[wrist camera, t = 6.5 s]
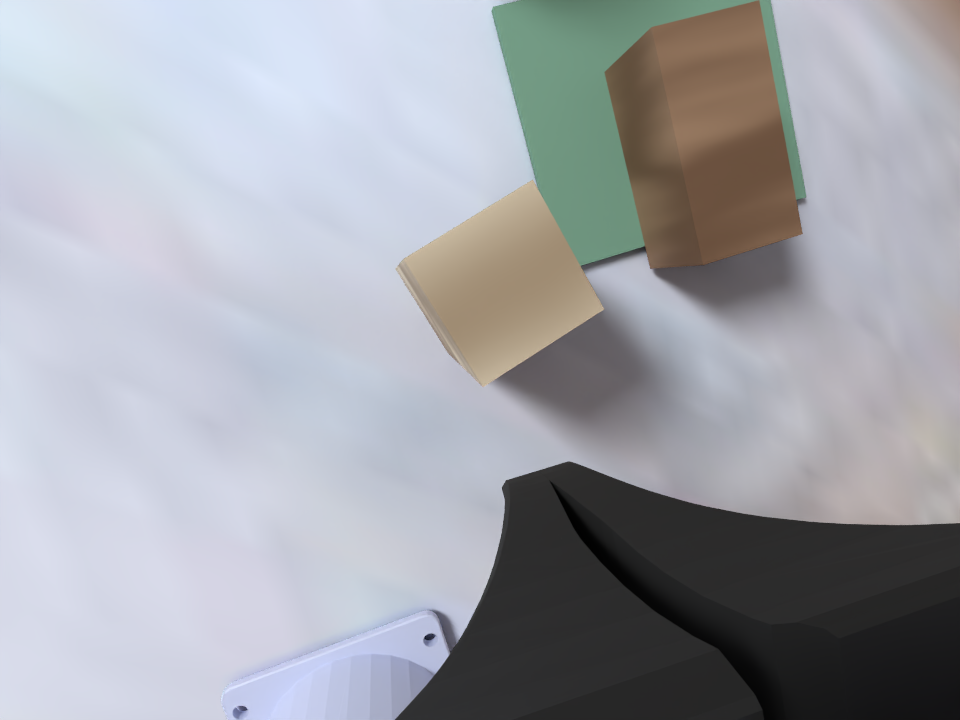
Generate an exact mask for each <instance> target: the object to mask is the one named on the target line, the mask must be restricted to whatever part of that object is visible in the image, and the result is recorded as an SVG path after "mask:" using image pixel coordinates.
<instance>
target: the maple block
mask: <svg viewBox="0 0 960 720" xmlns="http://www.w3.org/2000/svg"><path fill="white" fill-rule="evenodd" d="M396 271H397V272H398V274H399V275H400V277H401V279H402V280H403V282H404V283H405V285H406V287H407V288H408V290H409V291H410V293H411V295H412V296H413V298H414V299H415V301H416V302H417V304H418V306H419V307H420V309H421V310H422V312H423V314H424V315H425V317H426V318H427V320H428V322H429V323H430V325H431V326H432V328H433V330H434V331H435V333H436V334H437V336H438V338H439V339H440V341H441V342H442V344H443V346H444V347H445V349H446V350H447V352H448V354H449V355H451V356H452V357H453V358H454V359H455V360H456V361H457V362H458V363H459V364H460V365H461V366H462V367H463V368H464V369H465V370H466V371H467V372H468V373H469V374H470V375H471V376H472V377H473V378H474V379H475V380H476V381H477V382H478V383H479V384H480V385H481V386H482V387H484V386H486V385H487V384H489V383H490V382H492V381H493V380H495V379H497V378H498V377H500V376H501V375H503V374H504V373H506V372H507V371H509V370H511V369H512V368H514V367H515V366H517V365H518V364H520V363H521V362H523V361H525V360H526V359H528V358H529V357H531V356H532V355H534V354H535V353H537V352H539V351H540V350H542V349H543V348H545V347H546V346H548V345H549V344H551V343H553V342H554V341H556V340H557V339H559V338H560V337H562V336H563V335H565V334H567V333H568V332H570V331H571V330H573V329H574V328H576V327H577V326H579V325H581V324H582V323H584V322H585V321H587V320H588V319H590V318H591V317H593V316H595V315H596V314H598V313H599V312H601V311H602V310H604V308H603V306H602V304H601V302H600V301H599V299H598V297H597V295H596V293H595V292H594V290H593V288H592V286H591V284H590V282H589V281H588V279H587V277H586V275H585V273H584V272H583V270H582V268H581V266H580V264H579V263H578V261H577V259H576V257H575V255H574V254H573V252H572V250H571V248H570V246H569V244H568V243H567V241H566V239H565V237H564V235H563V234H562V232H561V230H560V228H559V226H558V225H557V223H556V221H555V219H554V217H553V215H552V214H551V212H550V210H549V208H548V206H547V205H546V203H545V201H544V199H543V197H542V196H541V194H540V192H539V190H538V188H537V187H536V185H535V183H534V181H533V180H532V181H530V182H528V183H527V184H525V185H523V186H522V187H520V188H518V189H517V190H515V191H514V192H512V193H510V194H509V195H507V196H505V197H504V198H502V199H501V200H499V201H497V202H496V203H494V204H492V205H491V206H489V207H487V208H486V209H484V210H483V211H481V212H479V213H478V214H476V215H474V216H473V217H471V218H470V219H468V220H466V221H465V222H463V223H461V224H460V225H458V226H457V227H455V228H453V229H452V230H450V231H448V232H447V233H445V234H443V235H442V236H440V237H439V238H437V239H435V240H434V241H432V242H430V243H429V244H427V245H426V246H424V247H422V248H421V249H419V250H417V251H416V252H414V253H412V254H411V255H409V256H408V257H406V258H404V259H403V260H402V261H401V263H400V264H399V265H398V266H397V267H396Z"/></svg>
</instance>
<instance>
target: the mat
mask: <svg viewBox="0 0 960 720" xmlns="http://www.w3.org/2000/svg"><path fill="white" fill-rule="evenodd" d="M754 1H758V0H520V1H516V2H512V3H507V4H503V5H499V6H495V7H493V9H492V15H493V19H494V22H495V26H496V30H497V34H498V38H499V41H500V45H501V49H502V53H503V57H504V60H505V64H506V68H507V72H508V76H509V80H510V83H511V87H512V91H513V95H514V99H515V102H516V106H517V110H518V114H519V118H520V121H521V125H522V129H523V133H524V137H525V140H526V144H527V148H528V152H529V156H530V160H531V163H532V167H533V171H534V175H535V179H536V182H537V186H538V190H539V192H540V194H541V196H542V197H543V199H544V201H545V203H546V205H547V206H548V208H549V210H550V212H551V214H552V215H553V217H554V219H555V221H556V223H557V225H558V226H559V228H560V230H561V232H562V234H563V235H564V237H565V239H566V241H567V243H568V244H569V246H570V248H571V250H572V252H573V254H574V255H575V257H576V259H577V261H578V263H579V264H580V266H582V265H585V264H588V263H591V262H595V261H598V260H601V259H605V258H608V257H611V256H614V255H618V254H621V253H624V252H628V251H631V250H634V249H637V248H641V247H644V246H645V244H644V239H643V235H642V231H641V227H640V222H639V218H638V214H637V210H636V205H635V201H634V197H633V192H632V188H631V184H630V180H629V175H628V171H627V167H626V163H625V158H624V154H623V150H622V145H621V141H620V137H619V133H618V128H617V124H616V120H615V116H614V111H613V107H612V103H611V98H610V94H609V90H608V86H607V81H606V77H605V73H604V72H605V71H606V70H607V69H608V68H609V67H610V66H611V65H612V64H613V63H614V62H615V61H617V60H618V59H619V58H620V57H621V56H622V55H623V54H624V53H625V52H626V51H627V50H628V49H629V48H630V47H631V46H632V45H633V44H634V43H635V42H636V41H637V40H638V39H640V38H641V37H642V36H643V35H644V34H645V33H646V32H647V31H648V30H649V29H650V28H651V27H654V26H658V25H662V24H666V23H670V22H674V21H678V20H682V19H686V18H690V17H694V16H698V15H702V14H706V13H710V12H714V11H718V10H722V9H726V8H730V7H734V6H738V5H742V4H746V3H750V2H754ZM759 1H760V7H761V12H762V17H763V23H764V28H765V34H766V39H767V44H768V50H769V55H770V61H771V66H772V71H773V77H774V82H775V88H776V93H777V98H778V104H779V109H780V115H781V120H782V125H783V131H784V136H785V142H786V147H787V152H788V158H789V163H790V169H791V174H792V179H793V185H794V190H795V196H796V200H798V199H802V198H805V197H806V193H805V187H804V182H803V176H802V171H801V165H800V160H799V154H798V149H797V143H796V138H795V132H794V127H793V121H792V116H791V110H790V105H789V100H788V94H787V89H786V83H785V78H784V72H783V67H782V61H781V56H780V50H779V45H778V39H777V34H776V28H775V23H774V17H773V12H772V6H771V1H770V0H759Z"/></svg>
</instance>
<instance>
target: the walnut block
mask: <svg viewBox="0 0 960 720" xmlns="http://www.w3.org/2000/svg"><path fill="white" fill-rule="evenodd" d="M604 73H605V77H606V81H607V86H608V90H609V94H610V98H611V103H612V107H613V111H614V116H615V120H616V124H617V128H618V133H619V137H620V141H621V145H622V150H623V154H624V158H625V163H626V167H627V171H628V175H629V180H630V184H631V188H632V192H633V197H634V201H635V205H636V210H637V214H638V218H639V222H640V227H641V231H642V235H643V239H644V244H645V248H646V252H647V257H648V261H649V265H650V269H653V268H667V267H682V266H697V265H705V264H708V263H711V262H715V261H718V260H721V259H724V258H727V257H731V256H734V255H737V254H740V253H743V252H747V251H750V250H753V249H756V248H759V247H763V246H766V245H769V244H772V243H775V242H779V241H782V240H785V239H788V238H791V237H795V236H798V235H801V234H803V233H802V228H801V223H800V217H799V212H798V206H797V201H796V196H795V190H794V185H793V179H792V174H791V169H790V163H789V158H788V152H787V147H786V142H785V136H784V131H783V125H782V120H781V115H780V109H779V104H778V98H777V93H776V88H775V82H774V77H773V71H772V66H771V61H770V55H769V50H768V44H767V39H766V34H765V28H764V23H763V17H762V12H761V7H760V1H759V0H758V1H754V2H750V3H746V4H742V5H738V6H734V7H730V8H726V9H722V10H718V11H714V12H710V13H706V14H702V15H698V16H694V17H690V18H686V19H682V20H678V21H674V22H670V23H666V24H662V25H658V26H654V27H651V28H650V29H649V30H648V31H647V32H646V33H645V34H644V35H643V36H642V37H641V38H640V39H638V40H637V41H636V42H635V43H634V44H633V45H632V46H631V47H630V48H629V49H628V50H627V51H626V52H625V53H624V54H623V55H622V56H621V57H620V58H619V59H618V60H617V61H615V62H614V63H613V64H612V65H611V66H610V67H609V68H608V69H607V70H606V71H605V72H604Z"/></svg>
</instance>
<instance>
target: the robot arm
mask: <svg viewBox="0 0 960 720" xmlns="http://www.w3.org/2000/svg"><path fill="white" fill-rule="evenodd" d="M502 490H503V494H504V498H505V514H504V521H503V528H502V534H501V539H500V543H499V547H498V551H497V555H496V559H495V563H494V566H493V569H492V572H491V575H490V578H489V580H488V583H487V585H486V588H485V590H484V593H483V595H482V598H481V600H480V602H479V604H478V606H477V608H476V610H475V612H474V614H473V616H472V618H471V620H470V622H469V624H468V626H467V628H466V629H465V631H464V633H463V635H462V636H461V638H460V640H459V641H458V643H457V644H456V646H455V647H454V649H453V650H452V652H451V653H450V651H449V648H448V645H447V642H446V639H445V636H444V633H443V630H442V627H441V624H440V621H439V618H438V616H437V615H436V614H435V613H434V612H433V611H429V610H425V611H421V612H418V613H415V614H413V615H410V616H407V617H405V618H402V619H399V620H397V621H394V622H391V623H389V624H386V625H383V626H381V627H378V628H375V629H373V630H370V631H367V632H365V633H362V634H359V635H357V636H354V637H351V638H348V639H346V640H343V641H340V642H338V643H335V644H332V645H330V646H327V647H324V648H322V649H319V650H316V651H314V652H311V653H308V654H306V655H303V656H300V657H298V658H295V659H292V660H290V661H287V662H284V663H282V664H279V665H276V666H274V667H271V668H268V669H266V670H263V671H260V672H258V673H255V674H252V675H250V676H247V677H244V678H241V679H239V680H236V681H233V682H232V683H230V684H228V685H227V686H226V688H225V689H224V691H223V694H222V697H221V705H222V707H223V710H224V712H225V714H226V717H227V719H228V720H960V523H955V524H929V525H863V524H836V523H819V522H806V521H797V520H788V519H778V518H769V517H762V516H755V515H748V514H742V513H736V512H731V511H726V510H721V509H716V508H711V507H706V506H702V505H697V504H693V503H689V502H685V501H682V500H678V499H675V498H671V497H668V496H664V495H661V494H658V493H654V492H651V491H648V490H645V489H642V488H639V487H637V486H634V485H631V484H628V483H625V482H623V481H620V480H617V479H615V478H612V477H609V476H607V475H604V474H602V473H599V472H597V471H594V470H592V469H589V468H587V467H584V466H581V465H579V464H576V463H573V462H565V463H562V464H559V465H555V466H552V467H549V468H546V469H542V470H539V471H536V472H532V473H529V474H526V475H522V476H519V477H516V478H513V479H509V480H506V482H505V483H504V485H503V487H502ZM430 633H433V634H435V635H436V636H435V638H434V639H432V640H426V639H424V637H425V636H426V635H427V634H430ZM237 706H245V707H246V708H247V709H248V710H246V711H239V710H237V708H236V707H237Z"/></svg>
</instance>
